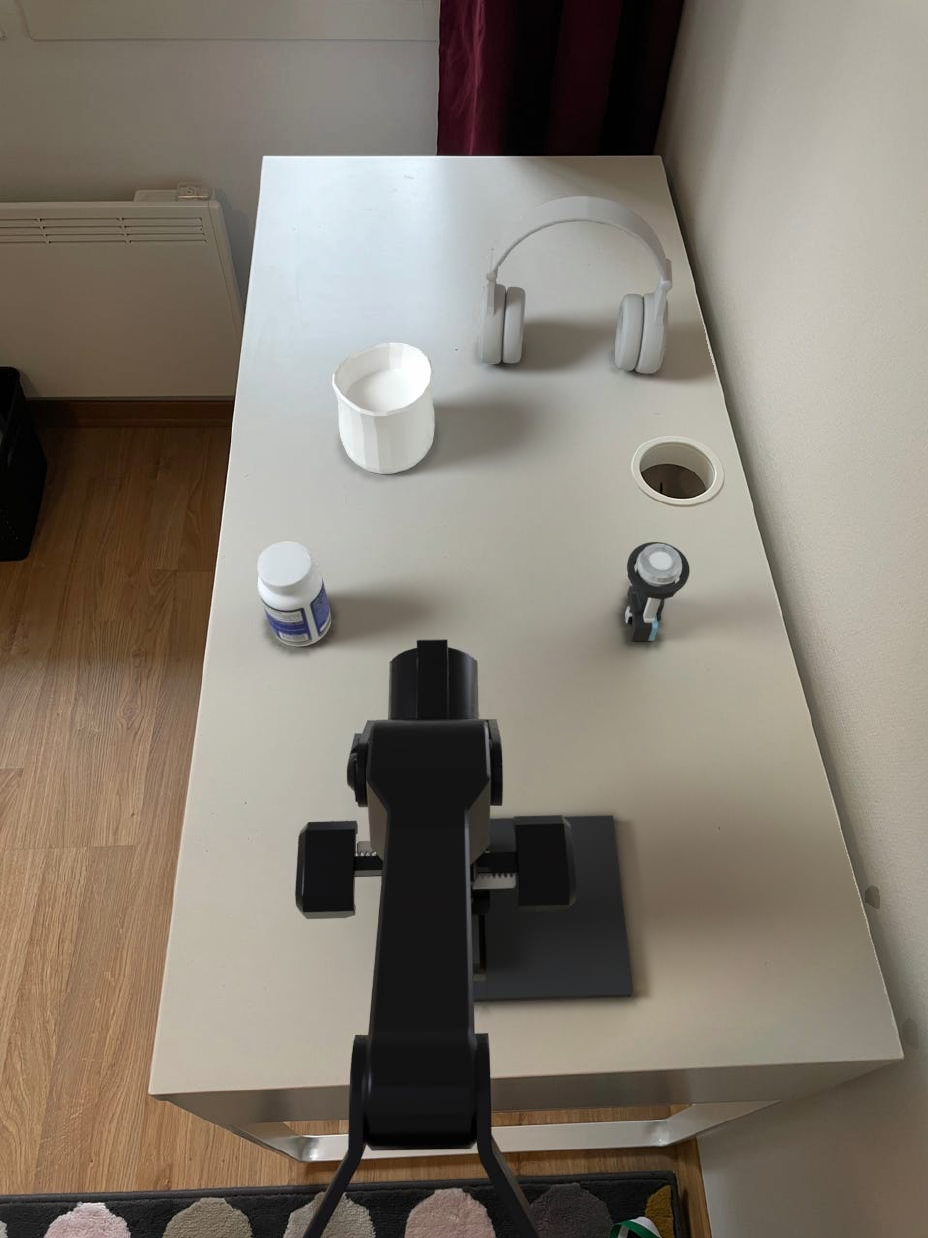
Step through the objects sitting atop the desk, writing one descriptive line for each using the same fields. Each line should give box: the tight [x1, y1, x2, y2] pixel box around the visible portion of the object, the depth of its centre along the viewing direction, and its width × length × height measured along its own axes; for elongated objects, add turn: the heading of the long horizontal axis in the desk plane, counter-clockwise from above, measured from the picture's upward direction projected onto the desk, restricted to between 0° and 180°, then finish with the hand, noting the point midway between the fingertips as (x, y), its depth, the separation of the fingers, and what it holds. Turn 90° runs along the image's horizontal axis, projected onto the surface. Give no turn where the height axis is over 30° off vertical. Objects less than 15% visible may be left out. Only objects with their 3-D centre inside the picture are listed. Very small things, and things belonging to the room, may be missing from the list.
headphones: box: [477, 195, 674, 375], centre depth 100 cm, size 20×8×19 cm, turn 85°
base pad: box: [473, 814, 634, 1003], centre depth 76 cm, size 14×18×1 cm
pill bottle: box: [256, 540, 332, 647], centre depth 86 cm, size 6×6×10 cm
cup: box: [331, 341, 436, 475], centre depth 97 cm, size 10×10×10 cm
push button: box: [624, 541, 691, 642], centre depth 86 cm, size 7×5×10 cm
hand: (438, 898), depth 73 cm, fingers closed
